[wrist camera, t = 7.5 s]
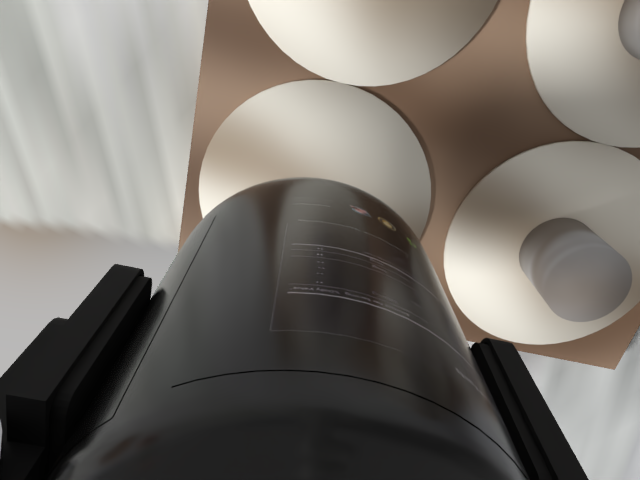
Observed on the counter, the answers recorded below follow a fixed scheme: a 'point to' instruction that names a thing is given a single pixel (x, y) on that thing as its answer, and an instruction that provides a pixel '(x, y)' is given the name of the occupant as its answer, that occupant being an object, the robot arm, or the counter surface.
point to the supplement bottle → (295, 356)
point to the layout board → (450, 145)
